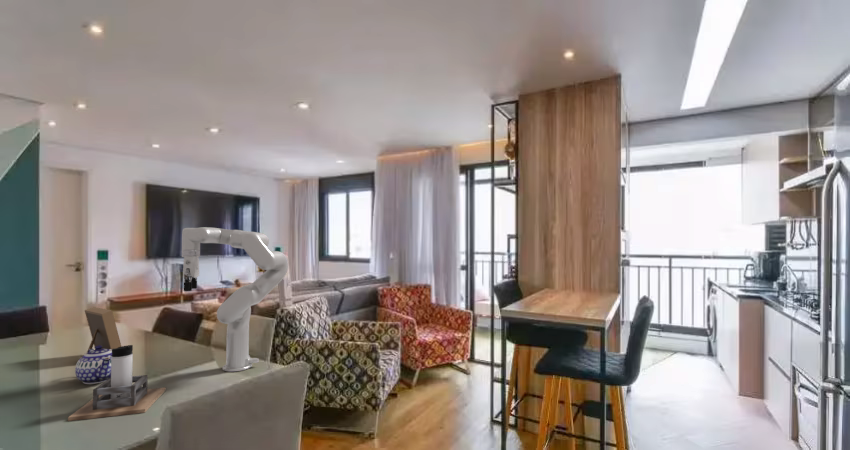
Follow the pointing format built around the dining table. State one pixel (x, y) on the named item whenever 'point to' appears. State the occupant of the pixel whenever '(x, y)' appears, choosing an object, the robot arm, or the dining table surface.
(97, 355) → the teapot
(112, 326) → the photo frame
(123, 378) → the travel mug
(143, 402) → the collar stand
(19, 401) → the dining table surface
